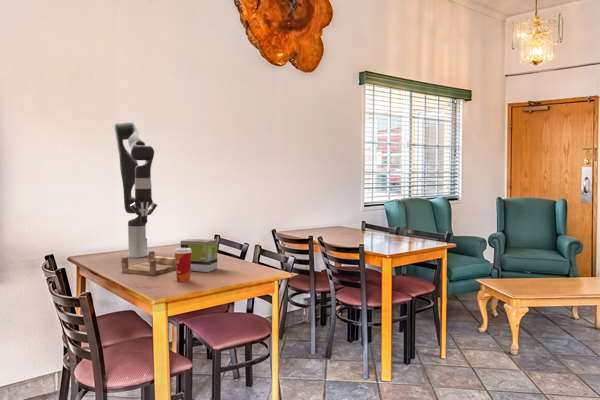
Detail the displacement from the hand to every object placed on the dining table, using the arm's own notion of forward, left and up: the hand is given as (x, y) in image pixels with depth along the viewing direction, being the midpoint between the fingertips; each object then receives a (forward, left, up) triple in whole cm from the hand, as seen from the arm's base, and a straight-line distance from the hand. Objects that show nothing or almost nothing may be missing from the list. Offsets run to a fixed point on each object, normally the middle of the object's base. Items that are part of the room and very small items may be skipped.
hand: (143, 223), depth 230 cm
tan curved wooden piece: (-9, +4, -21) cm, 23 cm away
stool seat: (-3, +2, -23) cm, 23 cm away
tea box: (-14, +22, -23) cm, 34 cm away
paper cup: (+8, +30, -23) cm, 38 cm away
